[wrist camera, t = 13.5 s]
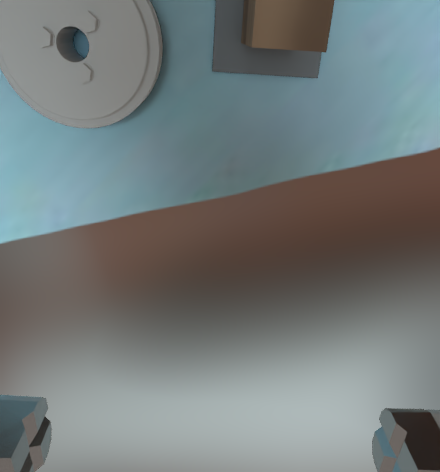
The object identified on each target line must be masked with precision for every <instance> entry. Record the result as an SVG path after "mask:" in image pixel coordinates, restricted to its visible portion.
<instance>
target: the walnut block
mask: <svg viewBox="0 0 440 472" xmlns="http://www.w3.org/2000/svg"><path fill="white" fill-rule="evenodd" d="M333 6H334V0H244V9H243V22H242V36H241V43H242V44H245V45H247V46H250V47H253V48H269V49H284V50H299V51H314V52H326V50H327V43H328V37H329V31H330V25H331V18H332V12H333Z"/></svg>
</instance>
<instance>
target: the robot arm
mask: <svg viewBox="0 0 440 472" xmlns="http://www.w3.org/2000/svg"><path fill="white" fill-rule="evenodd" d="M47 410H48V405H47V402H46V398H43V397H28V396H10V395H0V472H35V471H36V470H37V469H39V468H40V467H41V466H42V465H43V464H44V462H45V460H46V457H47V454H48V452H49V447H50V442H51V422H50V421H49V420H48V419H47V418H46V417H45V414H46V412H47ZM379 420H380V423H381V425H382V427H381V428H379V429H378V430H377V431H375V433H374V437H373V441H372V453H373V458H374V463H375V465H376V469H377V471H378V472H440V410H424V409H391V408H385V409H384V410H383V411H382V412H381V415H380V418H379Z"/></svg>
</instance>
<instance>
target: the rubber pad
mask: <svg viewBox="0 0 440 472" xmlns="http://www.w3.org/2000/svg"><path fill="white" fill-rule="evenodd" d="M243 9H244V0H216V9H215V29H214V49H213V69H212V71H215V72H230V73H246V74H261V75H277V76H292V77H308V78H318V73H319V66H320V60H321V53H322V52H314V51H299V50H284V49H269V48H253V47H250V46H247V45H245V44H242V43H241V36H242V22H243Z"/></svg>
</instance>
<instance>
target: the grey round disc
mask: <svg viewBox="0 0 440 472" xmlns="http://www.w3.org/2000/svg"><path fill="white" fill-rule="evenodd" d="M77 28H78V29H80V30H81V31H82V32H83V33H84V34H85V35H86V37H87V39H88V42H89V52H88V55H87V56H86V58H83V57H81V56H80V55H79V54H78V53H77V52H76V50H75V48H74V45H73V36H74V34H75V32H76V31H77V30H78V29H77ZM162 54H163V44H162V34H161V28H160V24H159V21H158V17H157V15H156V12H155V10H154V8H153V5H152V3H151V1H150V0H0V68H1V70H2V72H3V74H4V75H5V77H6V79H7V80H8V82H9V84H10V85H11V86H12V88H13V89H14V90H15V92H16V93H17V94H18V95H19V96H20V97H21V98H22V99H23V100H24V101H25V102H26V103H27V104H28V105H29V106H31V107H32V108H33V109H34V110H36V111H37V112H39V113H40V114H42V115H43V116H45V117H47V118H49V119H51V120H53V121H55V122H58V123H61V124H64V125H67V126H72V127H77V128H98V127H103V126H107V125H110V124H113V123H115V122H118V121H120V120H121V119H123V118H125V117H127V116H128V115H129V114H131V113H132V112H133V111H134V110H135V109H136V108H137V107H138V106H139V105H140V104H141V103H142V102H143V101H144V100H145V99H146V98H147V96H148V95H149V94H150V92H151V90H152V89H153V87H154V85H155V83H156V80H157V78H158V75H159V72H160V68H161V64H162Z"/></svg>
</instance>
